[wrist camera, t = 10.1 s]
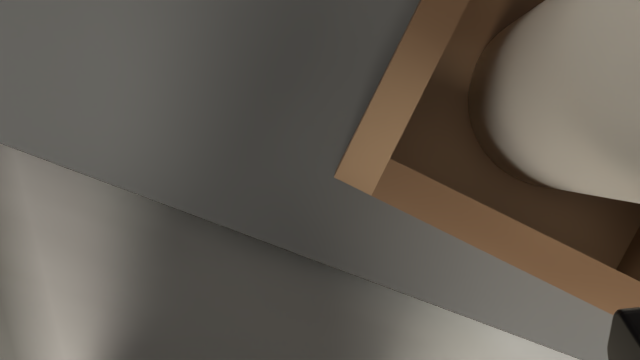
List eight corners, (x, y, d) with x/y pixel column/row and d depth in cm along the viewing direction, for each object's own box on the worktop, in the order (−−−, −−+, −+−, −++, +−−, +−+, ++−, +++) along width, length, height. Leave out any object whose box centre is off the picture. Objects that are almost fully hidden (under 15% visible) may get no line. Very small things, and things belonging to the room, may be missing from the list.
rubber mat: (850, -45, 17) (874, -54, 17) (667, 386, 18) (682, 397, 18) (94, -316, 18) (83, -338, 17) (-45, 121, 19) (-63, 119, 18)
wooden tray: (621, 312, 18) (691, 353, 14) (335, 170, 18) (333, 177, 14) (780, 20, 17) (894, -12, 13) (482, -126, 17) (518, -196, 13)
